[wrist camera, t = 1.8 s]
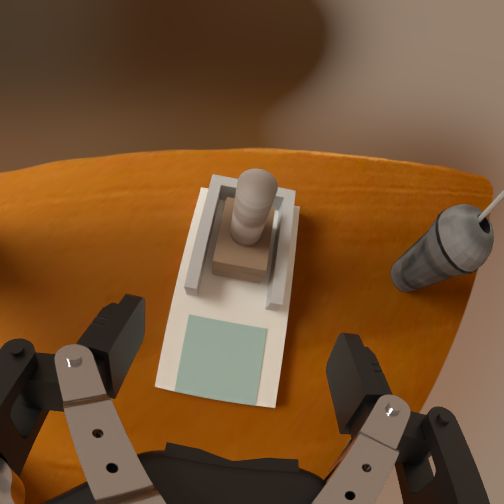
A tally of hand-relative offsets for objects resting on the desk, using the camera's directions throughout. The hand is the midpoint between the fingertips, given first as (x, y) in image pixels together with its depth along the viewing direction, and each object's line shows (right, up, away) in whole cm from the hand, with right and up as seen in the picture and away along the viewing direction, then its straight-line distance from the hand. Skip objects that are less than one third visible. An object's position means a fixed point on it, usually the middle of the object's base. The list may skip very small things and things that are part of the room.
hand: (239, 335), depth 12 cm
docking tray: (-2, -1, +22) cm, 22 cm away
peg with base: (-1, +4, +22) cm, 22 cm away
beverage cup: (+20, 0, +25) cm, 32 cm away
